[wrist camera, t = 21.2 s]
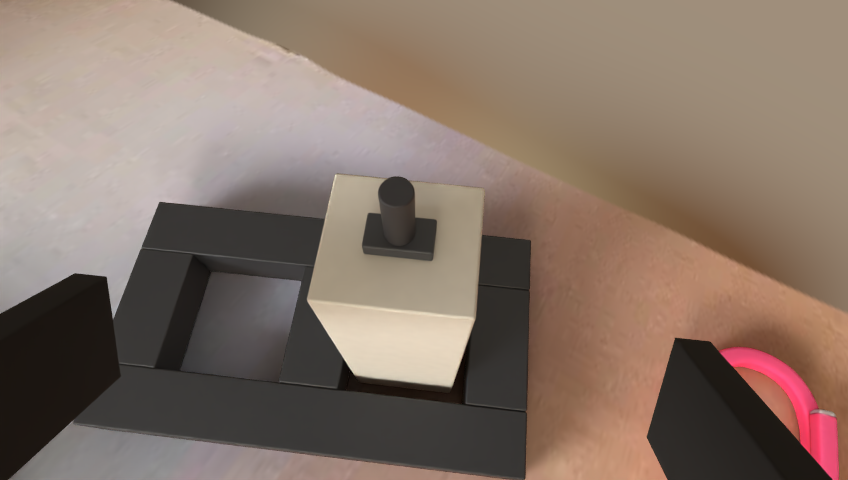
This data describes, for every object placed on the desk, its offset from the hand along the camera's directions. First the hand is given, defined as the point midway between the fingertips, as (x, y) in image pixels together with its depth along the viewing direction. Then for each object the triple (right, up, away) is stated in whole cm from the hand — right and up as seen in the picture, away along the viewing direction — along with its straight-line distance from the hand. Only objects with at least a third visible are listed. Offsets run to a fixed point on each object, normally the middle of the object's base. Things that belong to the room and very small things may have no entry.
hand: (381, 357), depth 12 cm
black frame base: (-3, -2, +12) cm, 13 cm away
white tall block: (0, -2, +12) cm, 12 cm away
